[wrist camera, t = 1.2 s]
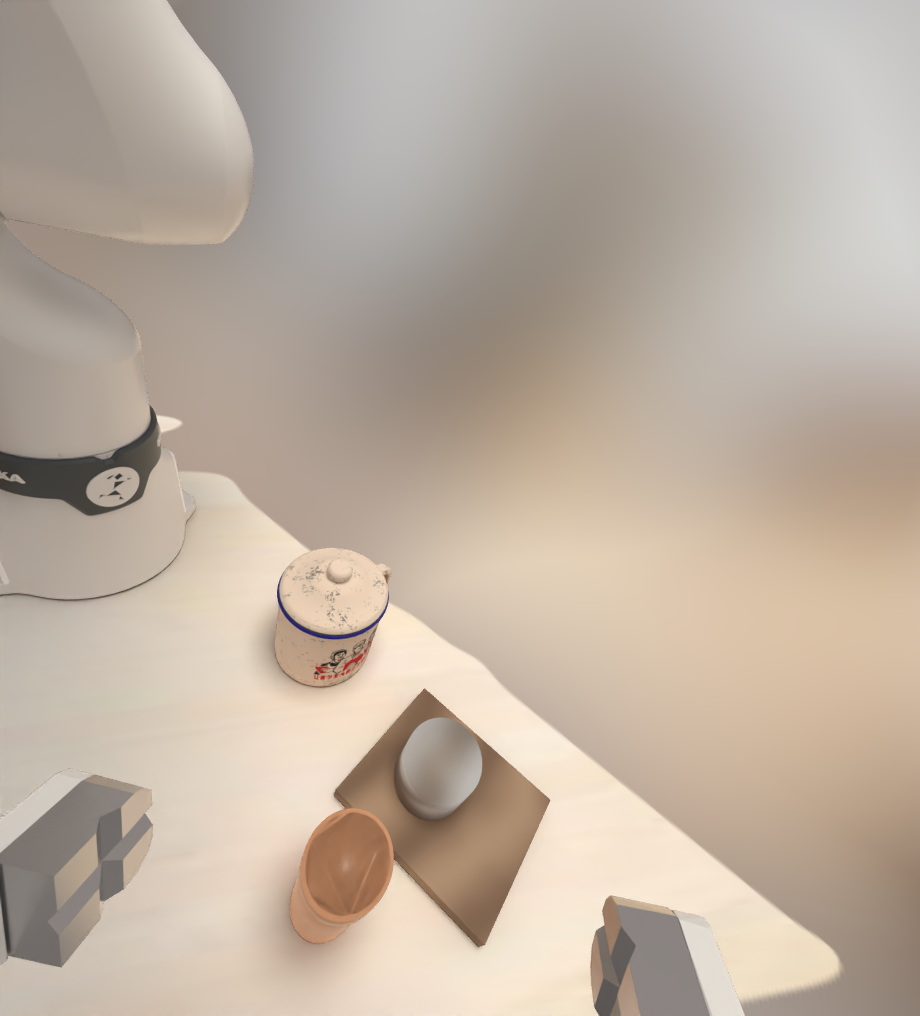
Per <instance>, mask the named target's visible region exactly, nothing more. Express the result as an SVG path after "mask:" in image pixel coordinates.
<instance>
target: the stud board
mask: <svg viewBox="0 0 920 1016" xmlns="http://www.w3.org/2000/svg"><path fill="white" fill-rule="evenodd" d="M334 796H335V797H336V798H337V799H338V800H339V801H340V802H341V803H342V804H343V806H344V807H345V808H346V809H349V808H356V809H362V810H365V811H368V812H370V813H372V814H373V815H375V816H376V817H377V818H378V819H379V820H380V821H381V822H382V823H383V824H384V826H385V827H386V829H387V831H388V833H389V835H390V838H391V841H392V846H393V853H394V859H395V860H396V861H397V862H398V863H399V864H400V865H401V866H402V867H403V868H404V869H405V870H406V872H407V873H408V874H409V875H410V876H411V877H412V878H413V879H414V880H415V881H416V882H417V883H418V884H419V885H420V886H421V887H422V888H423V889H424V890H425V891H426V892H427V894H428V895H429V896H430V897H431V898H432V899H433V900H434V901H435V902H436V903H437V904H438V905H439V906H440V907H441V908H442V909H443V910H444V911H445V912H446V913H447V914H448V916H449V917H450V918H451V919H452V920H453V921H454V922H455V923H456V924H457V925H458V926H459V927H460V928H461V929H462V930H463V931H464V932H465V933H466V934H467V935H468V936H469V937H470V939H471V940H472V941H473V942H474V943H475V944H476V945H477V946H478V947H480V946H483V945H485V943H486V941H487V939H488V937H489V934H490V932H491V930H492V928H493V926H494V923H495V921H496V919H497V917H498V915H499V912H500V910H501V908H502V906H503V904H504V901H505V899H506V897H507V895H508V892H509V890H510V888H511V886H512V884H513V881H514V879H515V877H516V875H517V873H518V870H519V868H520V866H521V864H522V862H523V859H524V857H525V855H526V853H527V851H528V848H529V846H530V844H531V842H532V840H533V837H534V835H535V833H536V831H537V829H538V826H539V824H540V822H541V820H542V818H543V815H544V813H545V811H546V809H547V807H548V804H549V802H550V799H549V798H548V797H547V796H545V795H544V794H543V793H542V792H541V791H540V790H539V789H537V788H536V787H535V786H534V785H533V784H532V783H531V782H530V781H528V780H527V779H526V778H525V777H524V776H523V775H522V774H521V773H519V772H518V771H517V770H516V769H515V768H514V767H513V766H512V765H510V764H509V763H508V762H507V761H506V760H505V759H504V758H503V757H501V756H500V755H499V754H498V753H497V752H496V751H495V750H493V749H492V748H491V747H490V746H489V745H488V744H487V743H486V742H484V741H483V740H482V739H481V738H480V737H479V736H478V735H477V734H475V733H474V732H473V731H472V730H471V729H470V728H469V727H468V726H466V725H465V724H464V723H463V722H462V721H461V720H460V719H459V718H457V717H456V716H455V715H454V714H453V713H452V712H451V711H449V710H448V709H447V708H446V707H445V706H444V705H443V704H442V703H440V702H439V701H438V700H437V699H436V698H435V697H434V696H433V695H431V694H430V693H429V692H428V691H427V690H426V689H425V688H424V689H423V691H422V692H421V693H420V694H419V695H418V696H417V698H416V699H415V700H414V701H413V702H412V703H411V704H410V706H409V707H408V708H407V709H406V710H405V711H404V712H403V714H402V715H401V716H400V717H399V718H398V719H397V720H396V722H395V723H394V724H393V725H392V726H391V727H390V728H389V730H388V731H387V732H386V733H385V734H384V735H383V736H382V738H381V739H380V740H379V741H378V742H377V743H376V744H375V746H374V747H373V748H372V749H371V750H370V751H369V752H368V754H367V755H366V756H365V757H364V758H363V759H362V760H361V762H360V763H359V764H358V765H357V766H356V767H355V768H354V770H353V771H352V772H351V773H350V774H349V775H348V776H347V778H346V779H345V780H344V781H343V782H342V783H341V784H340V786H339V787H338V788H337V789H336V791H335V793H334Z"/></svg>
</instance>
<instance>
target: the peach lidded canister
mask: <svg viewBox="0 0 920 1016" xmlns="http://www.w3.org/2000/svg"><path fill="white" fill-rule="evenodd" d="M393 863H394V853H393V846H392V841H391V838H390V835H389V833H388V831H387V829H386V827H385V826H384V824H383V823H382V822H381V821H380V820H379V819H378V818H377V817H376V816H375V815H373V814H372V813H370V812H368V811H365V810H362V809H356V808H349V809H344V810H341V811H338V812H336V813H334V814H332V815H330V816H329V817H327V818H326V819H325V820H324V821H322V822H321V824H320V825H319V826H318V827H317V828H316V829H315V831H314V832H313V834H312V835H311V837H310V839H309V841H308V843H307V845H306V848H305V850H304V853H303V856H302V859H301V863H300V867H299V875H298V878H297V880H296V883H295V885H294V888H293V891H292V895H291V900H290V915H291V920H292V923H293V926H294V928H295V930H296V931H297V933H298V934H299V935H300V936H301V937H302V938H303V939H305V940H306V941H308V942H311V943H317V944H320V943H326V942H329V941H331V940H333V939H335V938H336V937H338V936H339V935H340V934H341V933H342V932H343V931H344V930H345V929H346V928H347V927H348V926H349V925H350V924H352V923H354V922H356V921H358V920H360V919H361V918H363V917H364V916H365V915H366V914H367V913H368V912H369V911H370V910H371V909H373V907H374V906H375V905H376V904H377V903H378V902H379V901H380V899H381V898H382V896H383V895H384V893H385V891H386V889H387V887H388V885H389V882H390V879H391V875H392V871H393Z"/></svg>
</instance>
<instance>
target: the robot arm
mask: <svg viewBox="0 0 920 1016" xmlns="http://www.w3.org/2000/svg"><path fill="white" fill-rule="evenodd" d="M253 187H254V156H253V150H252V145H251V140H250V136H249V133H248V129H247V126H246V123H245V120H244V118H243V115H242V113H241V110H240V108H239V106H238V104H237V102H236V100H235V98H234V96H233V94H232V92H231V90H230V89H229V87H228V85H227V84H226V82H225V80H224V79H223V77H222V76H221V74H220V73H219V72H218V70H217V69H216V67H215V66H214V65H213V64H212V63H211V61H210V60H209V59H208V58H207V56H206V55H205V54H204V53H203V52H202V51H201V49H200V48H199V47H198V45H197V44H196V43H195V41H194V40H193V39H192V37H191V36H190V35H189V33H188V32H187V31H186V29H185V28H184V27H183V25H182V24H181V22H180V21H179V19H178V18H177V16H176V14H175V13H174V11H173V10H172V8H171V7H170V5H169V3H168V2H167V0H0V594H11V593H22V594H30V595H35V596H40V597H45V598H53V599H86V598H94V597H100V596H105V595H109V594H113V593H117V592H120V591H123V590H126V589H129V588H131V587H134V586H136V585H138V584H141V583H143V582H145V581H147V580H148V579H150V578H152V577H153V576H155V575H156V574H158V573H159V572H161V571H162V570H163V569H164V568H166V567H167V566H168V565H169V564H170V563H171V562H172V561H173V560H174V558H175V557H176V556H177V554H178V553H179V551H180V549H181V547H182V545H183V542H184V537H185V525H186V521H187V520H188V519H189V518H190V516H191V515H192V514H193V512H194V510H195V508H196V503H195V499H194V497H193V496H192V495H190V494H189V493H187V492H185V491H183V490H182V488H181V483H180V478H179V474H178V469H177V464H176V459H175V456H174V454H173V453H172V451H170V450H167V449H166V448H165V447H164V446H162V445H161V444H160V441H161V433H160V427H159V424H158V422H157V418H156V414H155V412H154V410H153V408H152V407H151V406H150V405H149V400H148V392H147V385H146V377H145V369H144V361H143V353H142V345H141V340H140V337H139V334H138V332H137V330H136V328H135V326H134V325H133V323H132V322H131V320H130V319H129V318H128V316H127V315H126V314H125V313H124V312H123V311H122V310H121V309H120V308H119V307H118V306H117V305H116V304H115V303H113V302H112V301H111V300H110V299H109V298H108V297H106V296H105V295H104V294H102V293H101V292H99V291H98V290H96V289H95V288H93V287H92V286H90V285H88V284H86V283H85V282H82V281H81V280H79V279H76V278H75V277H72V276H70V275H68V274H66V273H64V272H62V271H60V270H59V269H57V268H55V267H53V266H52V265H50V264H48V263H47V262H45V261H44V260H42V259H41V258H40V257H38V256H37V255H36V254H34V253H33V252H32V251H31V250H30V249H28V248H27V247H26V246H25V245H24V244H23V243H22V242H21V241H20V240H19V239H18V238H17V237H16V236H15V235H14V234H13V233H12V231H11V230H10V229H9V228H8V227H7V225H6V224H5V222H4V221H9V220H14V221H20V222H25V223H31V224H37V225H42V226H48V227H53V228H59V229H64V230H70V231H75V232H81V233H86V234H92V235H98V236H103V237H109V238H114V239H120V240H125V241H131V242H136V243H142V244H219V243H222V242H223V241H224V240H226V239H227V238H228V237H229V236H230V235H231V234H232V233H233V232H234V231H235V230H236V229H237V227H238V226H239V225H240V223H241V222H242V220H243V218H244V216H245V214H246V212H247V210H248V207H249V204H250V202H251V197H252V192H253ZM151 806H152V793H151V790H150V789H147V788H143V787H139V786H135V785H132V784H128V783H124V782H120V781H117V780H113V779H109V778H105V777H102V776H98V775H94V774H90V773H86V772H82V771H78V770H74V769H70V768H69V769H66V770H64V771H62V772H59V773H57V774H55V775H54V776H53V777H51V778H50V779H49V780H48V781H46V782H45V783H44V784H43V785H42V786H40V787H39V788H38V789H37V790H35V791H34V792H33V793H32V794H30V795H29V796H28V797H27V798H26V799H24V800H23V801H22V802H21V803H19V804H18V805H17V806H16V807H14V808H13V809H12V810H11V811H10V812H8V813H7V814H6V815H5V816H3V817H2V818H1V819H0V965H1V964H2V963H4V962H5V961H7V959H8V956H12V957H17V958H21V959H26V960H30V961H35V962H39V963H44V964H48V965H53V966H57V967H62V966H63V965H64V964H65V962H66V961H67V960H68V959H69V957H70V956H71V955H72V954H73V952H74V951H75V950H76V949H77V947H78V946H79V945H80V944H81V942H82V941H83V940H84V939H85V937H86V936H87V935H88V934H89V932H90V931H91V930H92V929H93V927H94V926H95V925H96V924H97V922H98V921H99V920H100V918H101V912H102V907H103V901H105V900H107V899H108V898H110V897H112V896H113V895H115V894H117V893H118V892H120V891H121V890H123V889H124V888H125V887H126V886H127V884H128V883H129V882H130V880H131V879H132V878H133V876H134V875H135V874H136V873H137V871H138V870H139V868H140V866H141V864H142V862H143V860H144V858H145V856H146V854H147V852H148V851H149V847H150V843H151V839H152V831H153V825H152V823H151V822H150V820H149V819H148V817H147V816H146V814H145V812H146V811H147V810H148V809H149V808H150V807H151ZM602 912H603V918H604V924H605V925H604V926H603V927H601V928H599V929H598V930H596V933H595V936H594V940H593V944H592V951H591V966H590V969H591V986H592V994H593V1002H594V1007H595V1009H596V1011H597V1013H598V1014H599V1016H745V1014H744V1012H743V1009H742V1007H741V1004H740V1002H739V999H738V996H737V994H736V991H735V989H734V986H733V984H732V981H731V978H730V976H729V973H728V971H727V968H726V966H725V963H724V960H723V958H722V955H721V953H720V950H719V948H718V945H717V942H716V940H715V937H714V935H713V932H712V930H711V927H710V925H709V924H708V922H707V921H706V920H705V918H704V917H701V916H698V915H694V914H689V913H685V912H680V911H676V910H670V909H669V908H667V907H662V906H658V905H653V904H648V903H644V902H639V901H634V900H630V899H625V898H620V897H616V896H611V895H610V896H609V897H608V898H607V899H606V901H605V904H604V907H603V910H602ZM7 955H8V956H7Z"/></svg>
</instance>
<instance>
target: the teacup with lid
mask: <svg viewBox="0 0 920 1016" xmlns="http://www.w3.org/2000/svg"><path fill="white" fill-rule="evenodd" d="M390 577H391V569H390V568H389V567H388V566H387V565H385V564H378V565H375V564H374V563H373V562H372V561H371V560H369V559H368V558H366V557H365V556H363V555H361V554H359V553H356V552H354V551H350V550H346V549H341V548H323V549H318V550H314V551H311V552H308V553H306V554H304V555H302V556H300V557H299V558H297V559H296V560H294V561H293V562H292V563H291V564H290V565H289V566H288V567H287V569H286V570H285V571H284V573H283V574H282V576H281V578H280V581H279V584H278V589H277V598H278V603H279V609H278V618H277V628H276V637H275V654H276V658H277V661H278V663H279V665H280V666H281V668H282V669H283V670H284V671H285V672H286V673H287V674H288V675H289V676H290V677H291V678H293V679H294V680H296V681H298V682H300V683H303V684H306V685H310V686H330V685H335V684H338V683H340V682H343V681H345V680H347V679H348V678H350V677H351V676H353V675H354V674H355V673H356V672H357V671H358V670H359V669H360V668H361V666H362V665H363V663H364V662H365V660H366V657H367V655H368V652H369V649H370V646H371V643H372V640H373V637H374V635H375V632H376V629H377V626H378V623H379V621H380V619H381V618H382V617H383V615H384V613H385V611H386V609H387V606H388V600H389V592H388V587H387V584H388V582H389V580H390Z"/></svg>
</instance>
